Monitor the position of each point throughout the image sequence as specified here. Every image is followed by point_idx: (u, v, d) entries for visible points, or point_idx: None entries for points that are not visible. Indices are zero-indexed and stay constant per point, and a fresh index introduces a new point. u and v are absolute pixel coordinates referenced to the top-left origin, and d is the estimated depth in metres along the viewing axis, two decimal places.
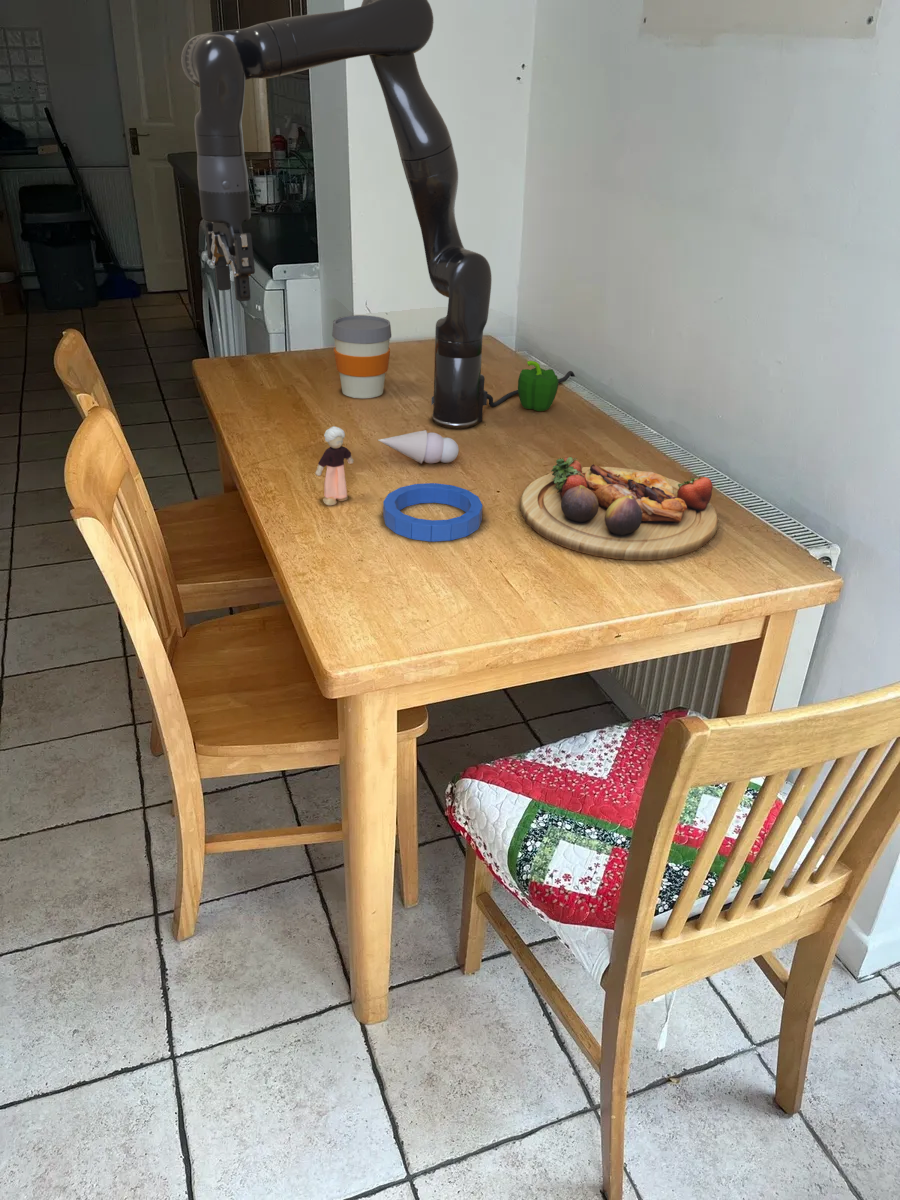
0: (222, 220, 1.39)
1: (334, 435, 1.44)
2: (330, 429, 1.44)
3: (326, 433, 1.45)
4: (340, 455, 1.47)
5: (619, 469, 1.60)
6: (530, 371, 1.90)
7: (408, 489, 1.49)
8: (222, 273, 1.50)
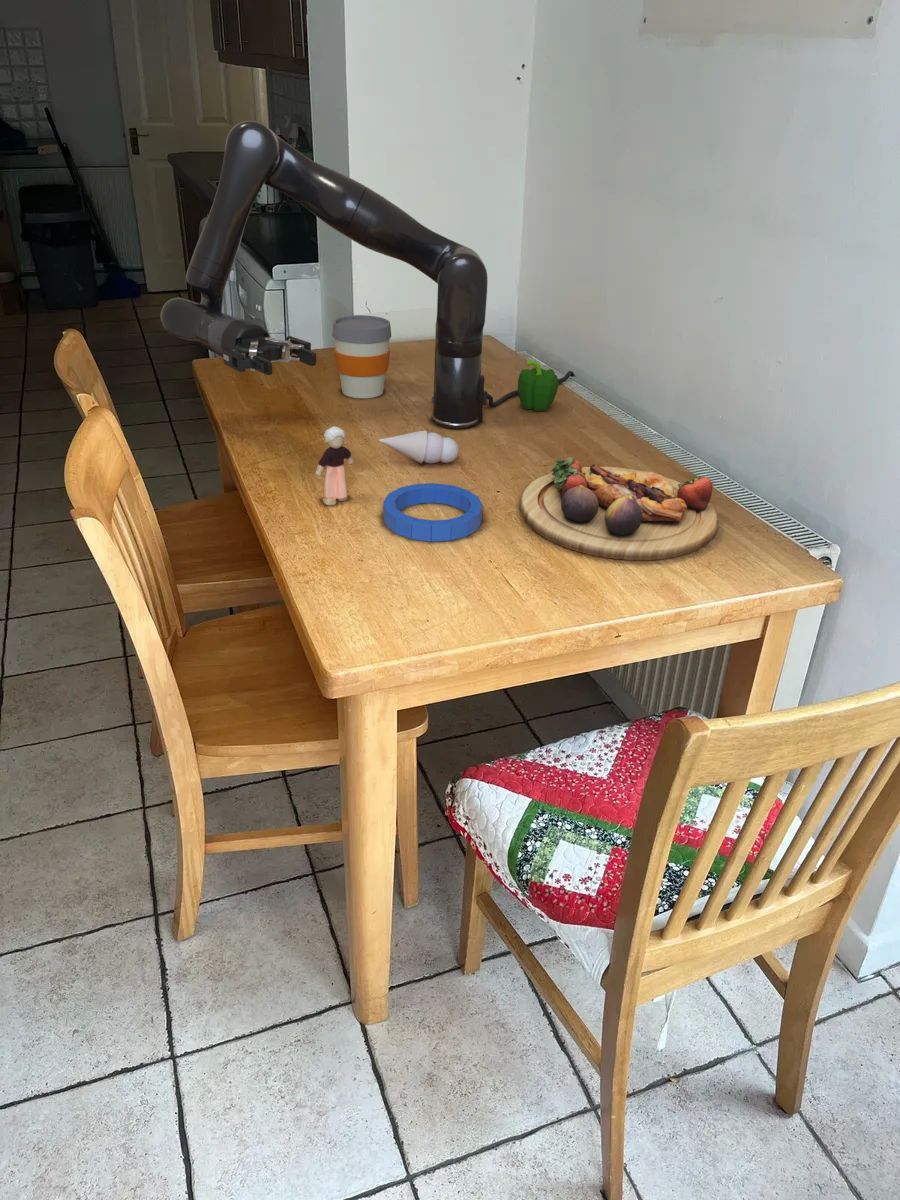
0: None
1: (334, 435, 1.44)
2: (330, 429, 1.44)
3: (326, 433, 1.45)
4: (340, 455, 1.47)
5: (619, 469, 1.60)
6: (530, 371, 1.90)
7: (408, 489, 1.49)
8: (303, 356, 1.52)
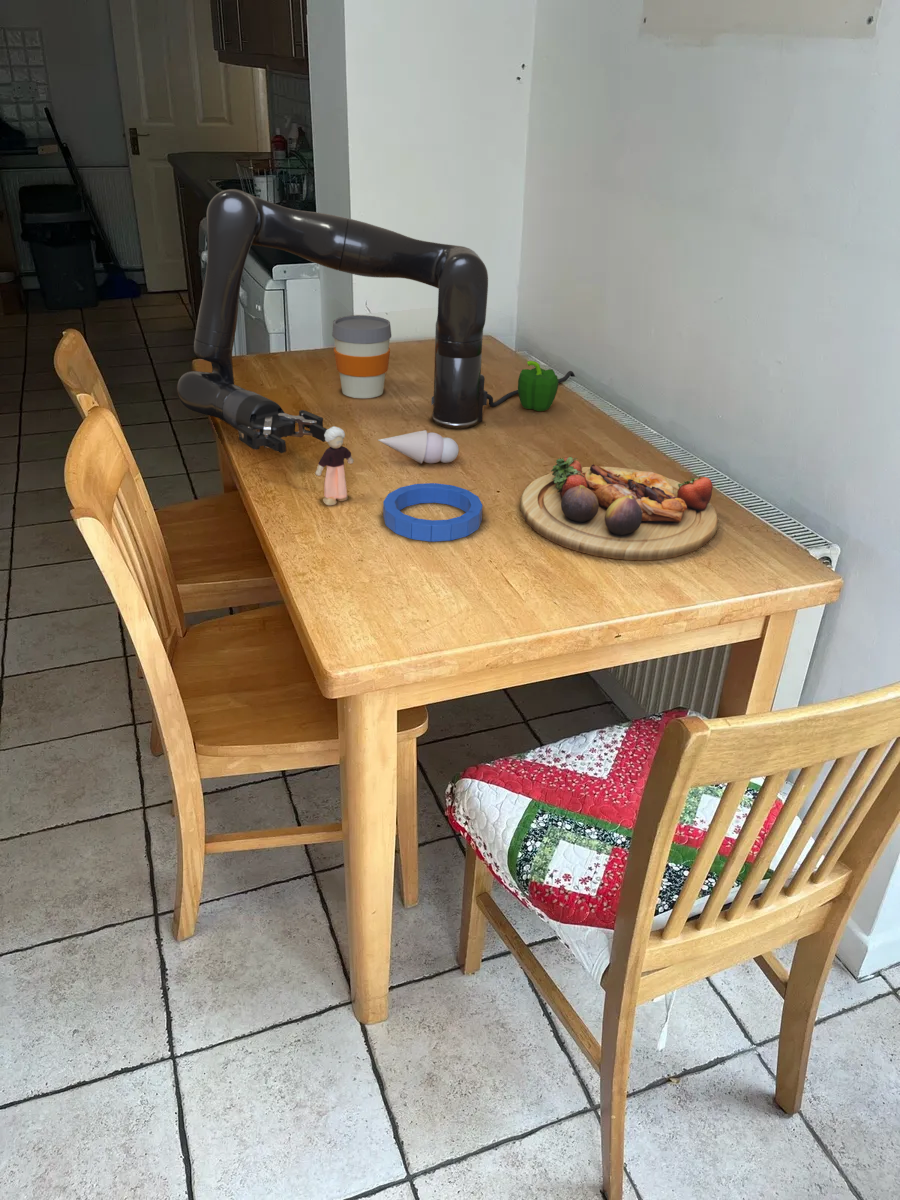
0: None
1: (334, 435, 1.44)
2: (330, 429, 1.44)
3: (326, 433, 1.45)
4: (340, 455, 1.47)
5: (619, 469, 1.60)
6: (530, 371, 1.90)
7: (408, 489, 1.49)
8: (315, 432, 1.56)
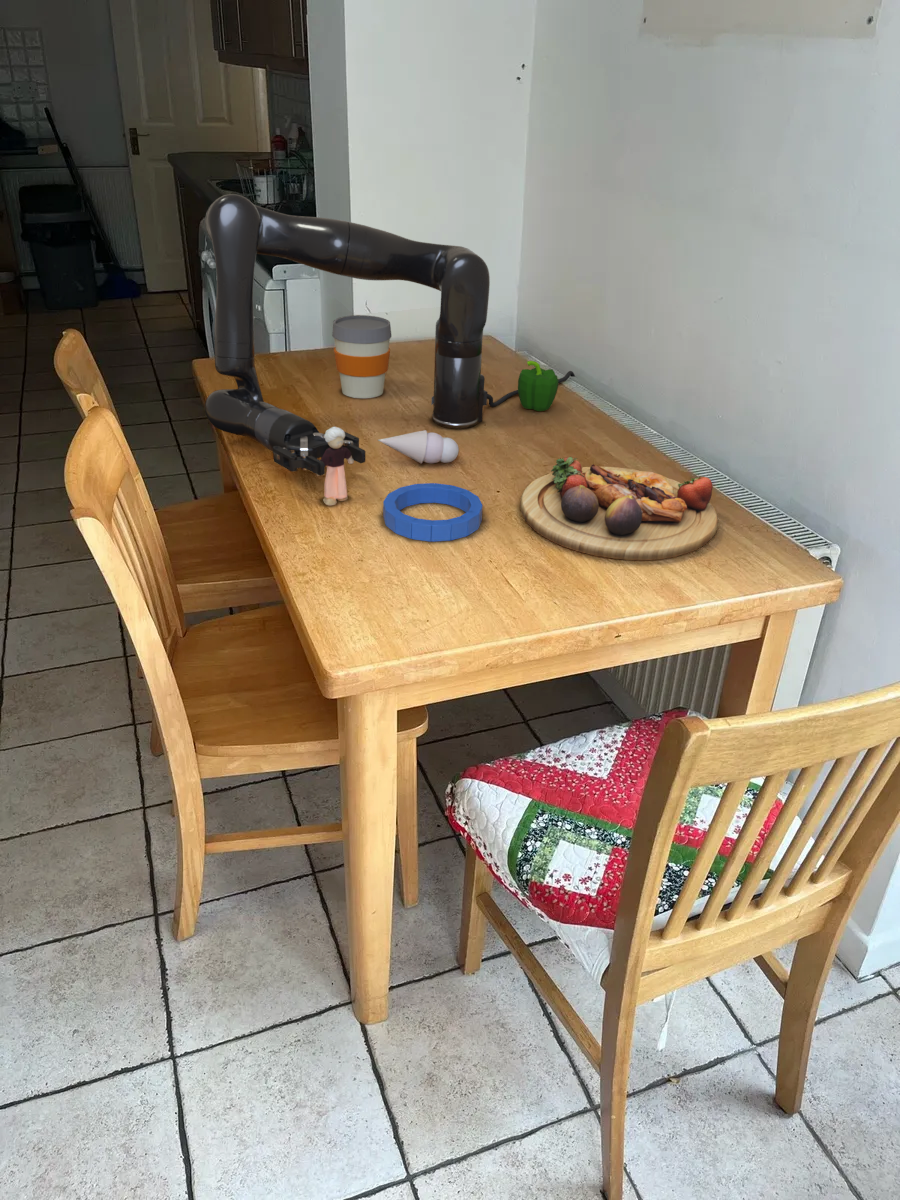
0: None
1: (334, 435, 1.44)
2: (330, 429, 1.44)
3: (326, 433, 1.44)
4: (340, 455, 1.47)
5: (619, 469, 1.60)
6: (530, 371, 1.90)
7: (408, 489, 1.49)
8: (352, 453, 1.50)
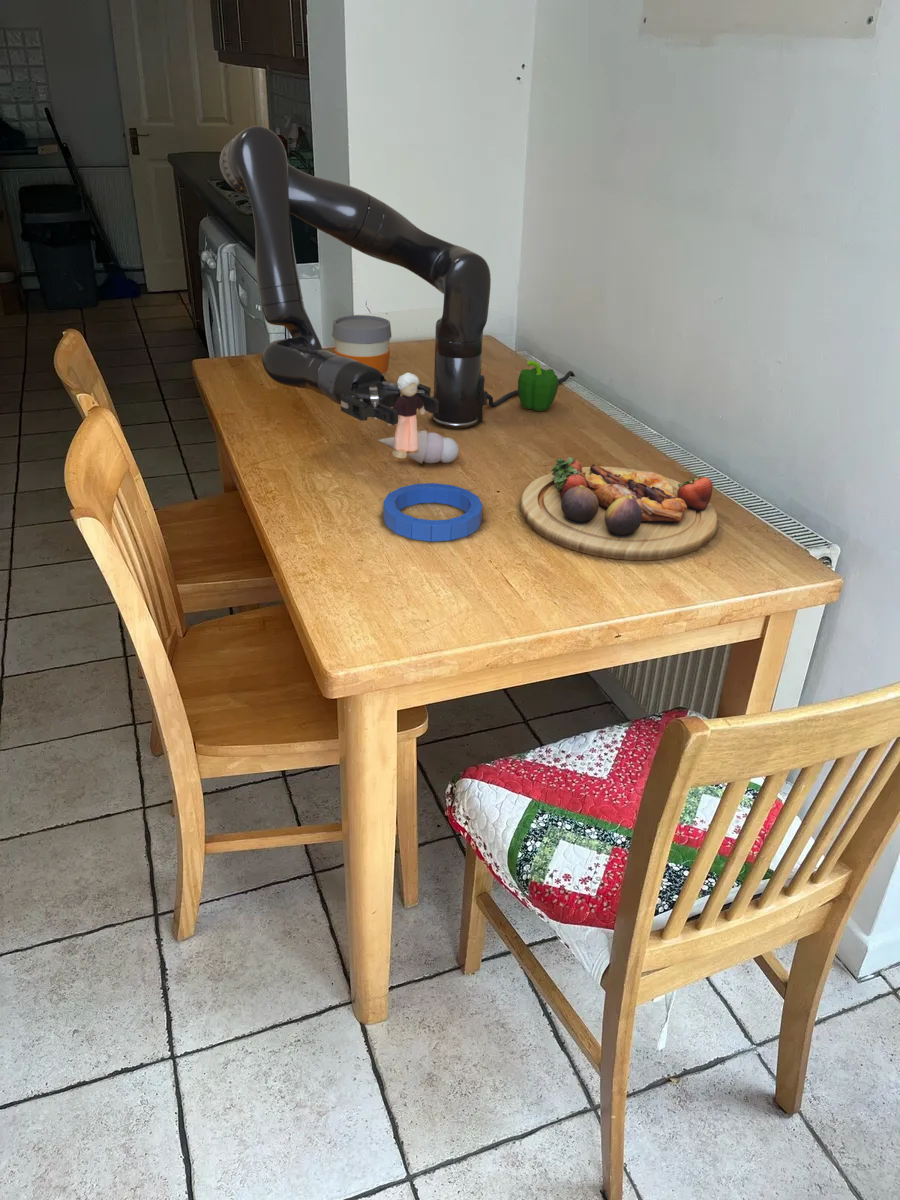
0: None
1: (408, 382, 1.34)
2: (404, 375, 1.35)
3: (399, 380, 1.35)
4: (413, 404, 1.37)
5: (619, 469, 1.60)
6: (530, 371, 1.90)
7: (408, 489, 1.49)
8: (424, 403, 1.41)
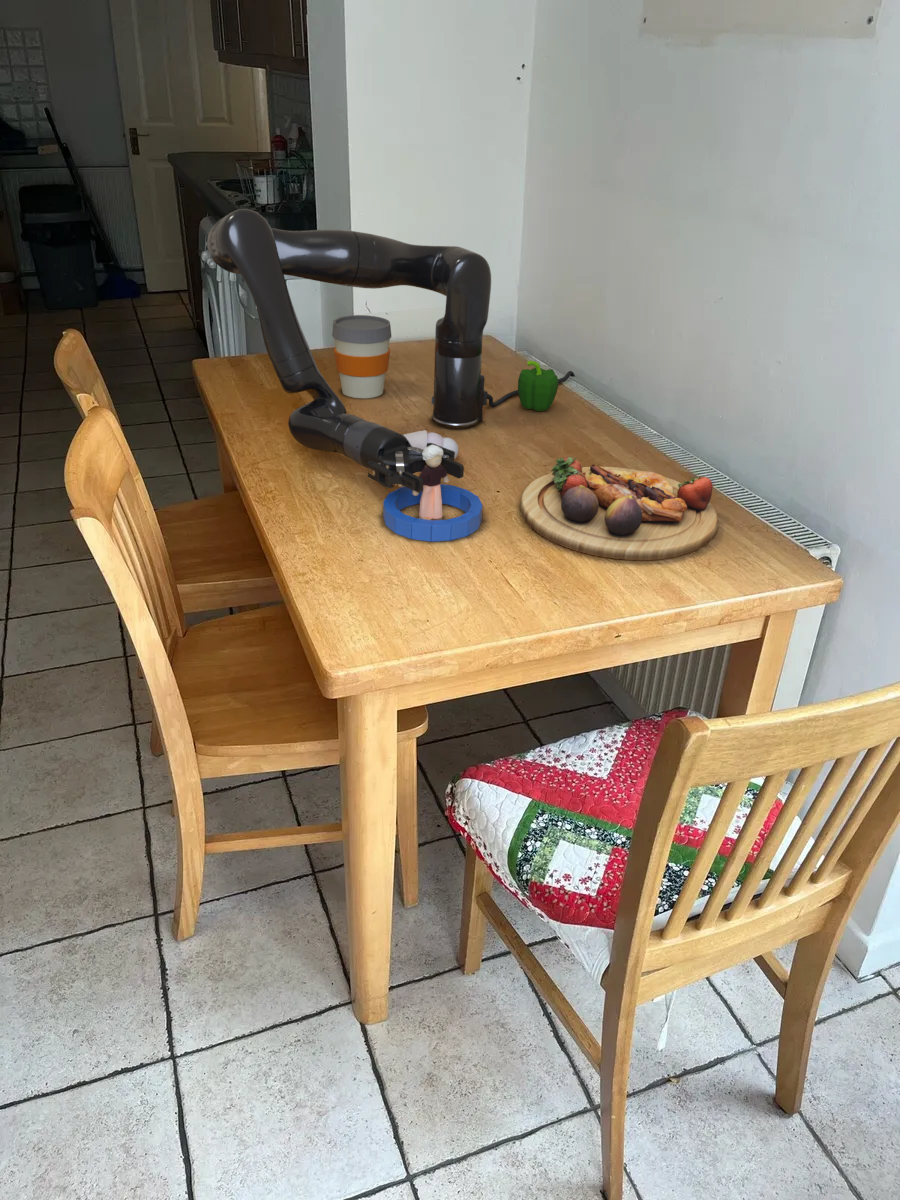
0: None
1: (433, 454, 1.39)
2: (429, 447, 1.39)
3: (424, 452, 1.39)
4: (438, 474, 1.42)
5: (619, 469, 1.60)
6: (530, 371, 1.90)
7: (408, 489, 1.49)
8: (448, 468, 1.45)
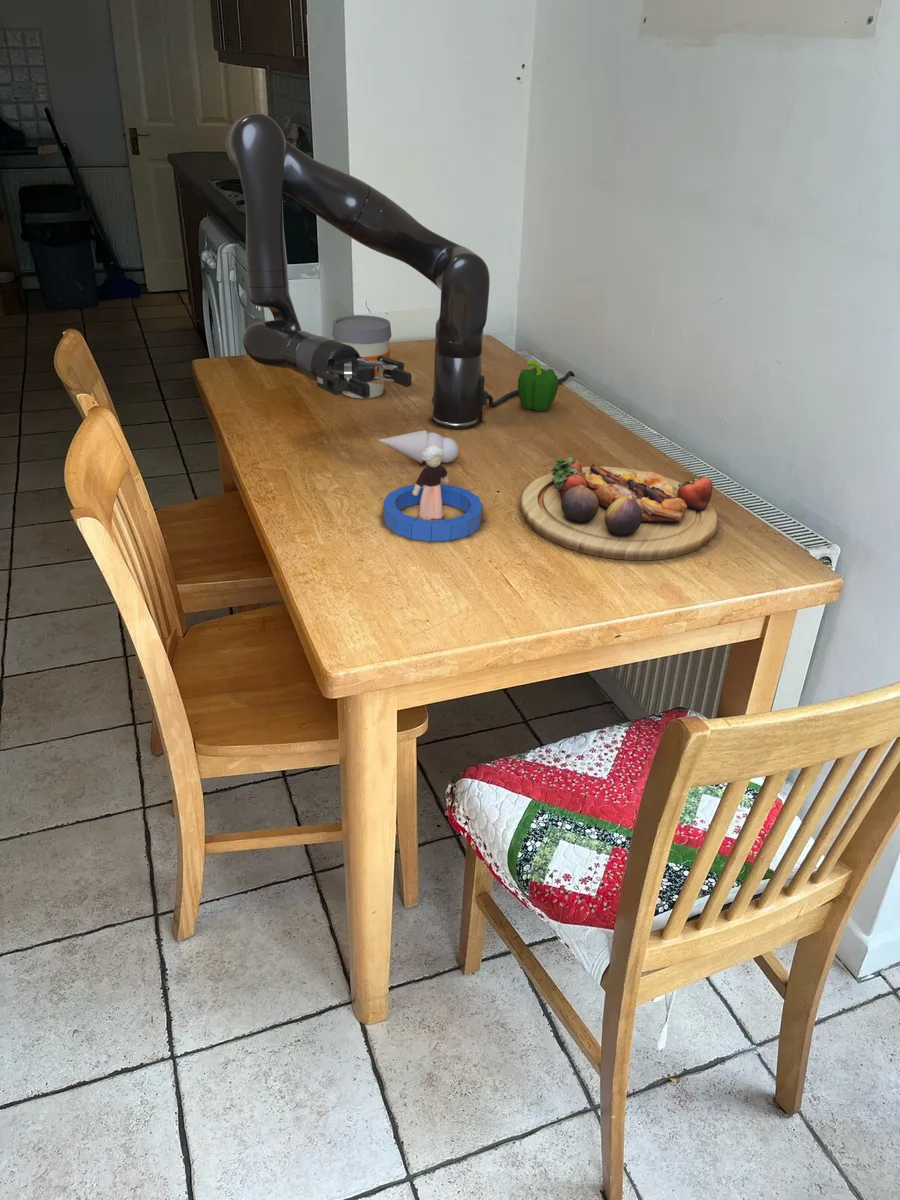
0: None
1: (433, 454, 1.39)
2: (429, 447, 1.39)
3: (424, 452, 1.39)
4: (438, 474, 1.42)
5: (619, 469, 1.60)
6: (530, 371, 1.90)
7: (408, 489, 1.49)
8: (397, 377, 1.47)
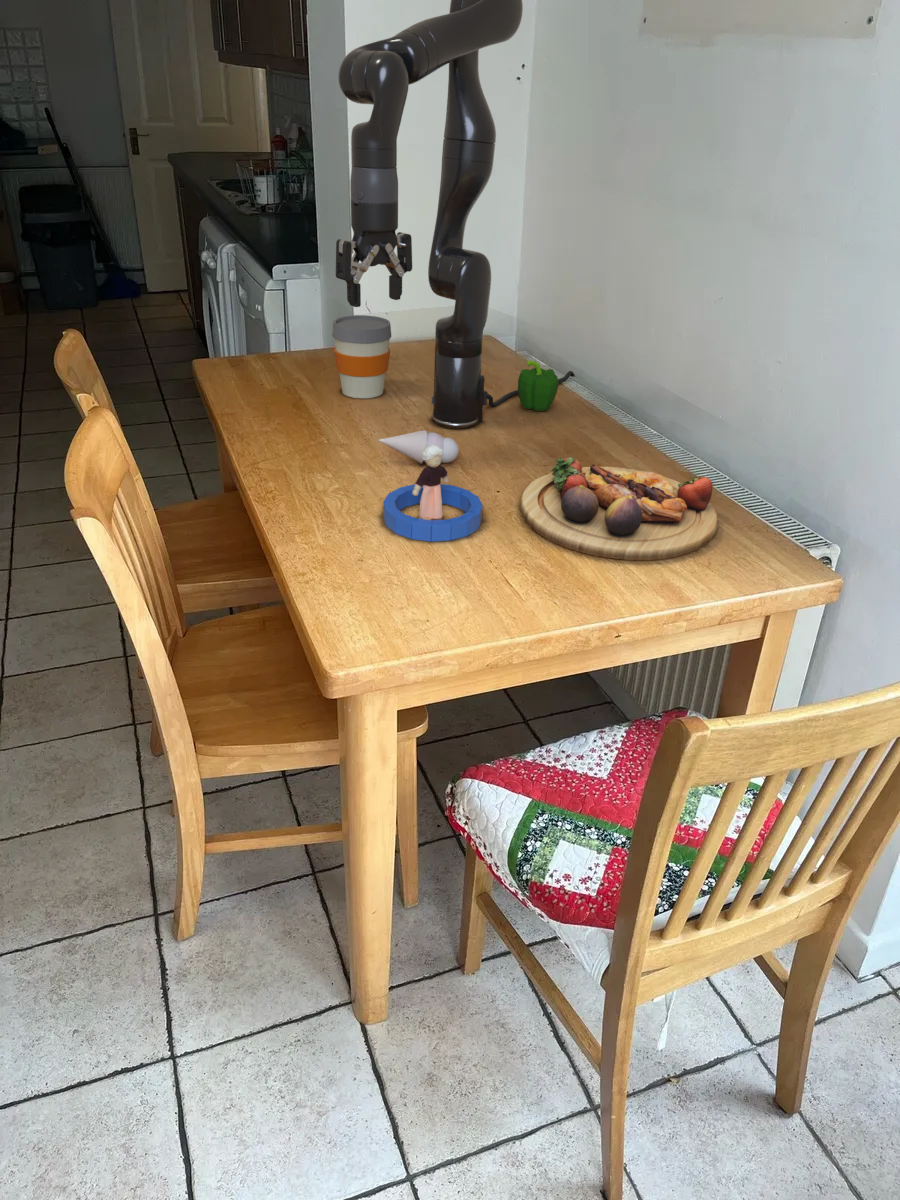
0: None
1: (433, 454, 1.39)
2: (429, 447, 1.39)
3: (424, 452, 1.39)
4: (438, 474, 1.42)
5: (619, 469, 1.60)
6: (530, 371, 1.90)
7: (408, 489, 1.49)
8: None
